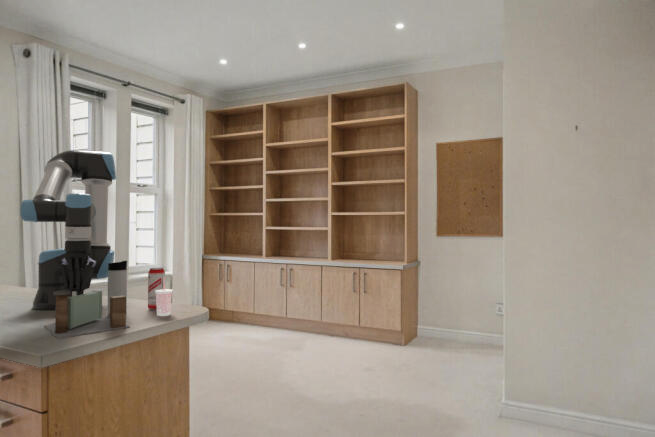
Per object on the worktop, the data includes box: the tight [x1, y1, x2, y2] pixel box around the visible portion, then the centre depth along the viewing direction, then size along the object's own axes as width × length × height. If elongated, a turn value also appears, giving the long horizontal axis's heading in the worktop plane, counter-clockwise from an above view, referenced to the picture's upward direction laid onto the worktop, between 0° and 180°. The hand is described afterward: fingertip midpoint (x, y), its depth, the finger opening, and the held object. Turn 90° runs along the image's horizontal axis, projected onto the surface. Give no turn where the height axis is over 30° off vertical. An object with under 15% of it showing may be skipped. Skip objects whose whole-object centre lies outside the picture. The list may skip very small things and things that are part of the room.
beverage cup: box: [155, 276, 174, 317], centre depth 159 cm, size 6×6×14 cm
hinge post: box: [53, 290, 70, 334], centre depth 131 cm, size 4×4×13 cm
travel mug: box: [107, 260, 128, 317], centre depth 157 cm, size 6×7×20 cm
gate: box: [68, 290, 103, 329], centre depth 140 cm, size 3×15×9 cm, turn 173°
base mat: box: [44, 316, 131, 339], centre depth 140 cm, size 20×20×1 cm
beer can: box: [147, 267, 166, 311], centre depth 169 cm, size 6×6×16 cm
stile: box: [110, 296, 127, 328], centre depth 139 cm, size 4×4×10 cm
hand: (76, 310), depth 143 cm, fingers closed
